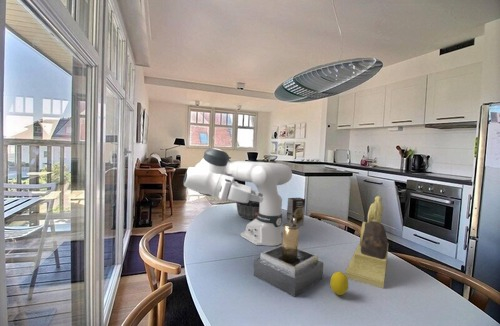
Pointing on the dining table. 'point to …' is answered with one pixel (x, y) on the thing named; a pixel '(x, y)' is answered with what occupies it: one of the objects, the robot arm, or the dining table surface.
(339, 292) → the lemon
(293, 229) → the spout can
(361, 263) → the decorative clock
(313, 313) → the dining table surface
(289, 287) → the housing
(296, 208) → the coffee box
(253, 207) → the bundt pan
